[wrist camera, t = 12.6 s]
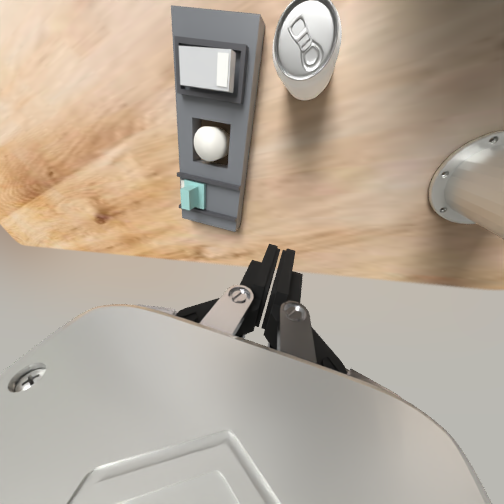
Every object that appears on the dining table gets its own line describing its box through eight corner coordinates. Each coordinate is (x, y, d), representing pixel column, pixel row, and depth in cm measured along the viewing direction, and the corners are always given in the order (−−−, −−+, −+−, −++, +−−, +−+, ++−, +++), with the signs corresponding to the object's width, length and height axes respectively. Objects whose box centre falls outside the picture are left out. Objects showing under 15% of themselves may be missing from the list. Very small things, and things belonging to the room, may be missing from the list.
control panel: (265, 25, 26) (257, 9, 23) (240, 226, 43) (233, 234, 40) (183, 16, 28) (165, 0, 25) (189, 213, 45) (179, 220, 41)
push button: (231, 129, 34) (223, 129, 30) (229, 161, 36) (221, 164, 33) (204, 124, 34) (193, 123, 31) (204, 155, 37) (193, 158, 34)
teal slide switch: (205, 183, 37) (195, 188, 33) (205, 208, 39) (195, 215, 36) (186, 178, 37) (173, 183, 34) (187, 203, 40) (175, 209, 37)
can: (299, 111, 30) (292, 102, 20) (276, 68, 28) (255, 35, 18) (341, 75, 27) (357, 44, 17) (318, 24, 25) (321, -45, 15)
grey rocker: (236, 52, 25) (230, 48, 24) (233, 93, 27) (228, 91, 26) (184, 48, 27) (177, 45, 26) (186, 86, 29) (179, 84, 28)
